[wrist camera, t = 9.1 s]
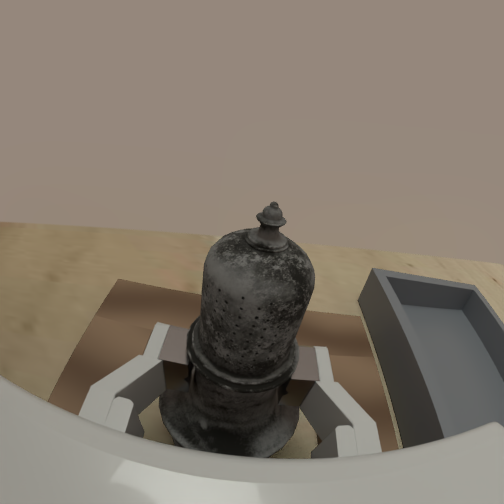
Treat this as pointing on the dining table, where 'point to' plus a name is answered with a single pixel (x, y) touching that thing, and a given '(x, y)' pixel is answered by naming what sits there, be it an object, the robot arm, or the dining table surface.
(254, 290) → the dark piece
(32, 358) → the dining table surface
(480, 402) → the parts tray
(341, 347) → the socket block
